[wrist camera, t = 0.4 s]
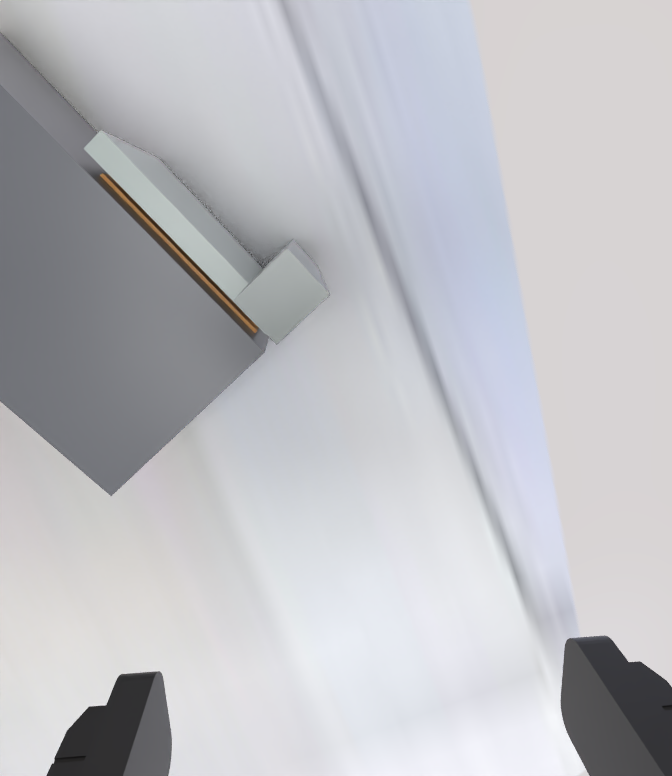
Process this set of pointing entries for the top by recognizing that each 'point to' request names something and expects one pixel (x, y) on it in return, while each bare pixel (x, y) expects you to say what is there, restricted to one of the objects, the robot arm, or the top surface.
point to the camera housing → (98, 297)
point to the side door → (215, 241)
